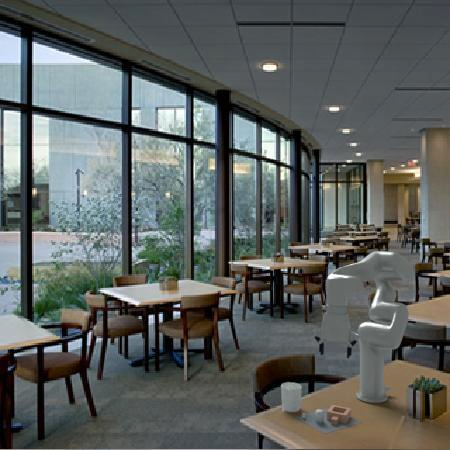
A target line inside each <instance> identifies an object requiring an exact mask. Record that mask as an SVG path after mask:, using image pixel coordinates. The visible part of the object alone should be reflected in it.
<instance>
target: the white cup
mask: <svg viewBox="0 0 450 450" xmlns="http://www.w3.org/2000/svg"><path fill="white" fill-rule="evenodd" d="M280 388H281V389H280V390H281V391H280V393H281V405H282V406H281V407H282V412H283V413H284V412H288V413H296V412H299V411H300V410H301V405H302V389H303V388H302V385H301V384H300V383H297V382H283V383H281V385H280Z"/></svg>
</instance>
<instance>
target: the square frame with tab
mask: <svg viewBox="0 0 450 450" xmlns="http://www.w3.org/2000/svg"><path fill="white" fill-rule="evenodd" d="M328 408H329V410H328V411H327V420H331V425H336V426H337V424H338V423H339V422H341V423H347V422H348V420H349V419H350V417H352V408H349V407H345V406H340V405H333V404H331V406H330V407H328Z"/></svg>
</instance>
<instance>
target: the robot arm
mask: <svg viewBox="0 0 450 450" xmlns="http://www.w3.org/2000/svg"><path fill="white" fill-rule="evenodd" d="M414 274H415V273H414V268H413V265H412V263H410V261H408V260H407V258H405V257H404V256H403V255H402V254H400V253H398V252H395V251H386V250H385V251H381V250H376V251H372V252H371V253H369V254H368V255H366V256H365V257H364V258H363V259H361V260H360V261H359V262H355V263H351V264H348V265H344V266H341V267H339V268H336V269H334V270H333V271H332V272H331V273H330V274H328V276H327V277H326V281H325V288H326V302H325V303H326V304H325V305H321V307H322V308H321V309H322V310H324V311H325V312H323V315H322V321H321V327H319V328H317V329H313V330H312V331H311V332H312V336H313V337H314V339H315V340H316V342H317V343H318V345H319V347H318V353H320V356H323V355H324V353H325V351H324V349H325V344H324V341H327V342H328V341H329V342H335V343H336V342H337V343H345V344H346V345H347V348H346V358H347V359H350V356H352V354H353V353H352V352H353V351H352V350H353V349H352V348H353V346H355V345H356V344H357V342H359V343H358V344H359V390H358V391H356V393H355V397H356V398H357V399H358V400H360V401H362V402H365V403H369V404H384V403H385V402H387V401H388V395H387V394H386V392H388V391H391V390H392V388H391V386H390V385H386V386H384V383H385V381H384V380H385V376H384V375H385V371H384V369H385V365H384V363H385V357H384V354H383V351H382V349H383V348H384V349H388V350H396V349H398V348H399V347H400V345H401V343H402V340H403V338H404V335H405V330H406V328H407V325H408V321H409V314H410V313H409V308H408V307H407V306H406V304H404V303H402V302H397V301H396V298H397V292H396V290H395V288H394V286H393V285H392V284H391V282H397V283H409V282H410V281H411V280H412V279H413V277H414ZM373 279H374V283H375V288H376V290H375V294H374V296H373V299H372V302H371V305H370V306H369V311H368V317H369V319H370V320H371V321H364V322H362V323H359V325H358V328H357V333H356V332H354V331H353V330H351V327H350V326H351V323H350V317H349V313H347V312H348V296H352V297H357V296H358V295H360V294H361V293H362V292H363V290H364V289H365V288H364V282H370V281H371V280H373ZM318 333H321V334H320V336H321V337H319V335H318ZM351 336H353V337H354V339H353V340H352V341H351V339H350V337H351ZM381 348H382V349H381Z"/></svg>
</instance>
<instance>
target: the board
mask: <svg viewBox="0 0 450 450" xmlns="http://www.w3.org/2000/svg"><path fill="white" fill-rule="evenodd" d="M329 408H330V407H327V408H323V409H316V410H315V411H313V412H307V413H305V412H303V413H302V414H300V415H297V416H295V417H294V418H295V419H296V420H297V419H298V420H299V421H300V422H303V423H304V424H306V425H308V426H310V427H312V428H313V429H315V430H316V431H317V430H318V432H320V433H322V434H324V435H326V434H329V433H332V432H336V431H339V430H342V429H345V428H348V427H349V428H350V427H352V426H355V425H358V424H362V423H363V421H360V420H358V419H356V418H353V417H352V416H351V417H350V419H349V420H348V422H347V423H341V422H339V423H338V424H337V426H336V425H331V420H327V411H328V410H329Z"/></svg>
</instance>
